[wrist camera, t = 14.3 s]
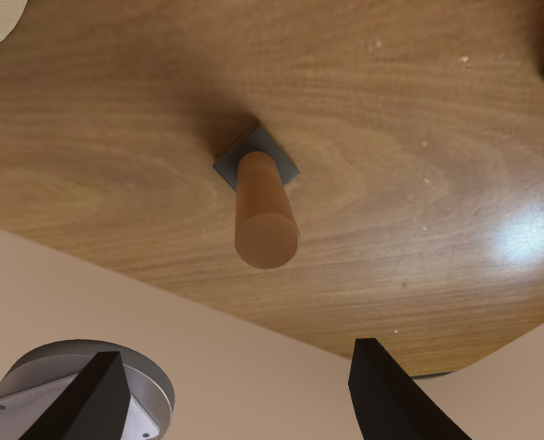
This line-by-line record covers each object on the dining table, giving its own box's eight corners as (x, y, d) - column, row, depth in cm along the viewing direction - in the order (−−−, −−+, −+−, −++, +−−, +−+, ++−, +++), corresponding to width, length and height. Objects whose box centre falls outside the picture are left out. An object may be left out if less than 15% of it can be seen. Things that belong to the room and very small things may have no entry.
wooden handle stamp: (252, 199, 19) (261, 301, 11) (214, 158, 18) (191, 238, 10) (296, 165, 18) (339, 246, 10) (259, 119, 17) (276, 171, 9)
